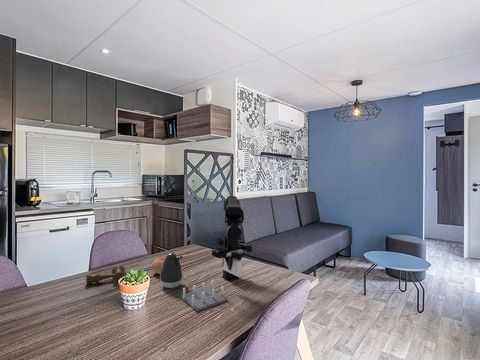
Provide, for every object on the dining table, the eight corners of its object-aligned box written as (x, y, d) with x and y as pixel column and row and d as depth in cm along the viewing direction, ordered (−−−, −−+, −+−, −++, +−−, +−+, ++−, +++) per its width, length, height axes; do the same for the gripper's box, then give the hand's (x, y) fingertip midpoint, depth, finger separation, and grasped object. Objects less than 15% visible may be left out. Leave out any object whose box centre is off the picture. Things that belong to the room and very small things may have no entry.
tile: (227, 268, 123) (228, 255, 122) (241, 275, 115) (241, 261, 115) (223, 269, 121) (223, 256, 121) (237, 276, 113) (237, 262, 113)
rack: (209, 288, 120) (209, 277, 120) (227, 300, 109) (228, 288, 109) (179, 297, 111) (179, 286, 111) (196, 311, 100) (196, 298, 100)
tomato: (156, 278, 131) (156, 262, 131) (148, 272, 139) (148, 256, 139) (176, 273, 138) (176, 258, 137) (167, 267, 146) (168, 253, 146)
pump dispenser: (177, 291, 117) (177, 257, 116) (155, 289, 119) (156, 255, 118) (186, 282, 127) (187, 251, 126) (166, 280, 129) (166, 249, 128)
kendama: (86, 281, 126) (132, 274, 136) (85, 290, 118) (133, 281, 127) (86, 269, 126) (131, 262, 135) (85, 277, 118) (133, 269, 127)
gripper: (238, 229, 130) (237, 260, 130) (205, 233, 118) (204, 268, 118) (253, 233, 121) (252, 267, 121) (219, 238, 109) (218, 276, 110)
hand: (232, 269), depth 118 cm, fingers closed on tile, 2 cm apart
